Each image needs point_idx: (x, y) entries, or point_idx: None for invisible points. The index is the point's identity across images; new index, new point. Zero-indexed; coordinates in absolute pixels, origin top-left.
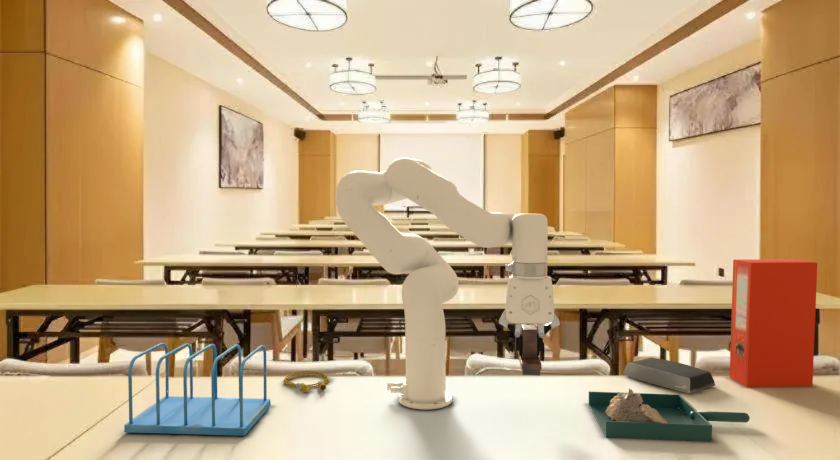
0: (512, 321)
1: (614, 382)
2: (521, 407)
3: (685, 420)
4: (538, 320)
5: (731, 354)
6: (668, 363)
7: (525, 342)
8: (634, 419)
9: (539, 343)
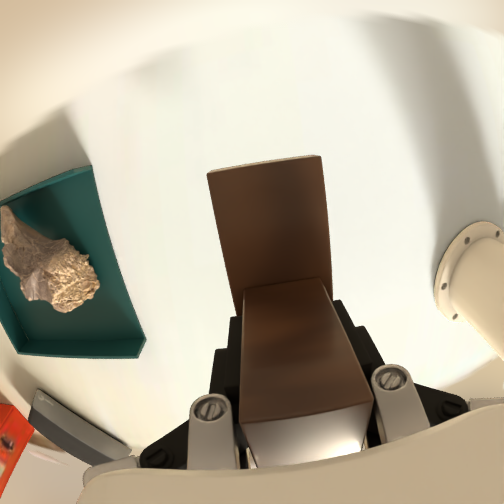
0: (494, 410)
1: (135, 431)
2: None
3: (8, 289)
4: (219, 500)
5: (22, 447)
6: (75, 452)
7: (326, 329)
8: (42, 236)
9: (227, 359)
